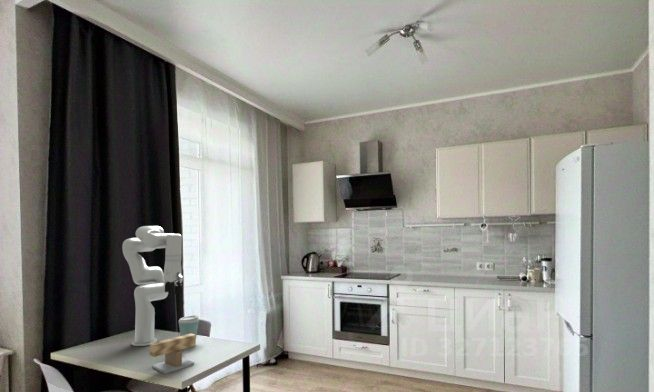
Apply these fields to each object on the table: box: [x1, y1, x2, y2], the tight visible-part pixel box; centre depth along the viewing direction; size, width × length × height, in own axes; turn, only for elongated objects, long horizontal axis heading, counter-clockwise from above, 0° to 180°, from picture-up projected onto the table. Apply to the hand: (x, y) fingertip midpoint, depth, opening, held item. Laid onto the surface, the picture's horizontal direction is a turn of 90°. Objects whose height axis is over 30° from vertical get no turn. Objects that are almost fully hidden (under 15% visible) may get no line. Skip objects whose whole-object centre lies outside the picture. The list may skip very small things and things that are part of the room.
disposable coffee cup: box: [178, 314, 200, 337], centre depth 205 cm, size 11×11×15 cm
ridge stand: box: [151, 350, 195, 375], centre depth 175 cm, size 12×14×7 cm
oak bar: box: [149, 333, 197, 358], centre depth 176 cm, size 20×4×5 cm, turn 139°
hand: (172, 292), depth 192 cm, fingers open, 9 cm apart
